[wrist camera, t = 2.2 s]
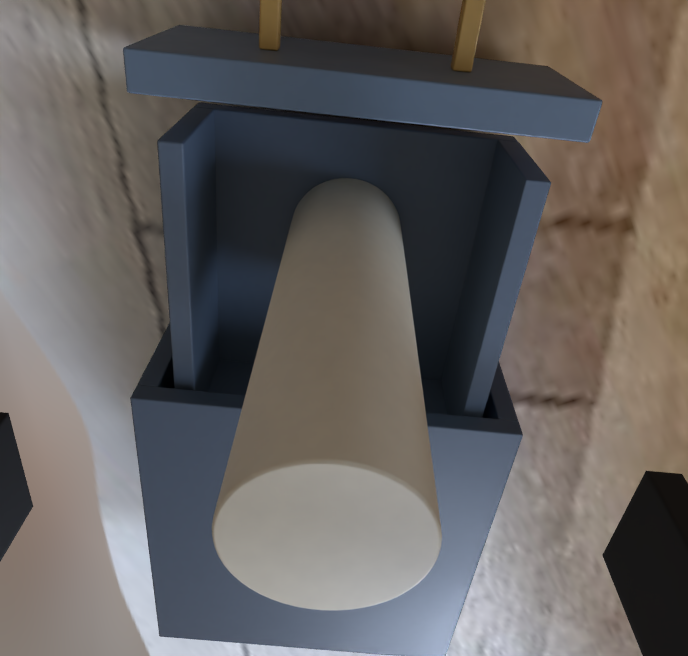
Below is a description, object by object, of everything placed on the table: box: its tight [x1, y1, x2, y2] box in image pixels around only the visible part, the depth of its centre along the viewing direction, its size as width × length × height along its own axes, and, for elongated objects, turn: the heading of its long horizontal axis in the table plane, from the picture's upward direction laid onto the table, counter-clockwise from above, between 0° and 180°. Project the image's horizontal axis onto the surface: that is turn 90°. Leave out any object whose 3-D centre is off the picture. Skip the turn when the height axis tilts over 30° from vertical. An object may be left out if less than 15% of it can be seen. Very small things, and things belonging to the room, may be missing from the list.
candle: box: [212, 178, 442, 610], centre depth 18 cm, size 4×4×15 cm
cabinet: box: [130, 323, 523, 656], centre depth 29 cm, size 16×15×8 cm
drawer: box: [123, 0, 602, 418], centre depth 22 cm, size 19×13×6 cm
